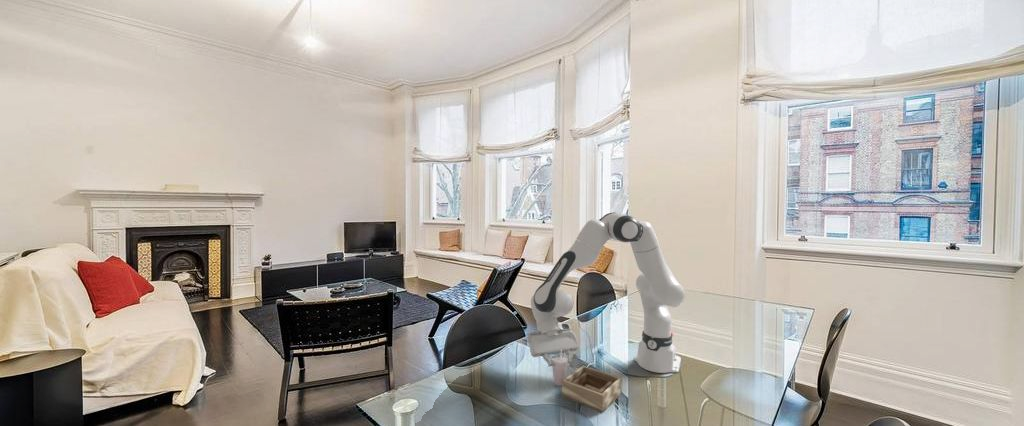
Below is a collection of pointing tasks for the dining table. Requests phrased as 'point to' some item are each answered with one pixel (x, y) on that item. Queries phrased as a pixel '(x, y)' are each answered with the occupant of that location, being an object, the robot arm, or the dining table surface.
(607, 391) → the open wooden box
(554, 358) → the smoothie
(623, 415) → the dining table surface
